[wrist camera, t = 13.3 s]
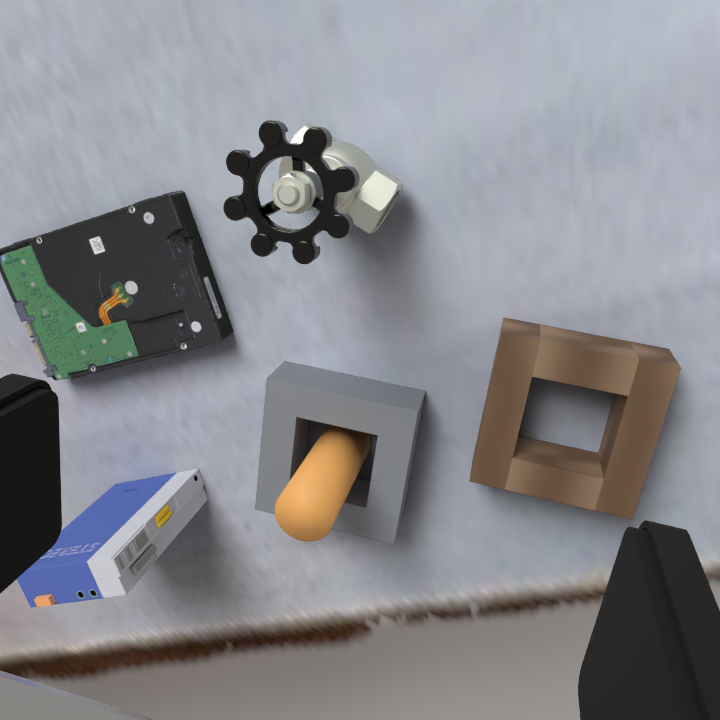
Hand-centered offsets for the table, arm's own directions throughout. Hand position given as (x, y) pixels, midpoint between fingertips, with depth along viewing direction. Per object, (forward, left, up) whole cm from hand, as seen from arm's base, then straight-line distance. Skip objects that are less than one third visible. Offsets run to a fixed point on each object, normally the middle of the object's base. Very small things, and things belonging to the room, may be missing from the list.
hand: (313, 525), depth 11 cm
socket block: (+6, +16, -33) cm, 37 cm away
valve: (+8, -2, -34) cm, 35 cm away
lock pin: (+6, +16, -33) cm, 37 cm away
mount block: (-8, +10, -33) cm, 36 cm away
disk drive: (+24, +8, -34) cm, 42 cm away
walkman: (+20, +24, -34) cm, 46 cm away
